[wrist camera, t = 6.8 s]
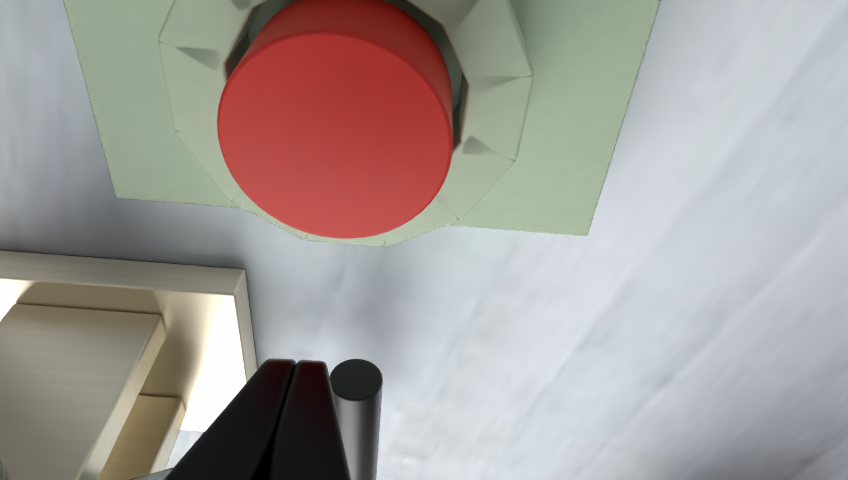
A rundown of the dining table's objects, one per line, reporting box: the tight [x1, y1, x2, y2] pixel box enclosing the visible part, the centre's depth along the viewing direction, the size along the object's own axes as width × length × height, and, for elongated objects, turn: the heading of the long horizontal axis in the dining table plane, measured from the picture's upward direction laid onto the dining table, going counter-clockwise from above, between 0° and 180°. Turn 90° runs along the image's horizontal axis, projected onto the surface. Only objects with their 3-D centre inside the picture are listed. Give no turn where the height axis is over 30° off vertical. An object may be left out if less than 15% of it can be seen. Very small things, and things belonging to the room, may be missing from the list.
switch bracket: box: [0, 250, 257, 480], centre depth 18 cm, size 9×7×9 cm
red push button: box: [217, 0, 453, 239], centre depth 11 cm, size 4×4×2 cm
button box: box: [63, 0, 661, 247], centre depth 13 cm, size 12×8×4 cm, turn 85°
